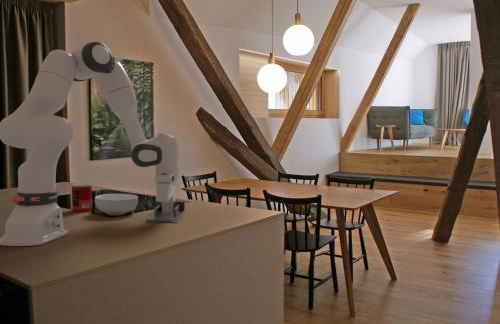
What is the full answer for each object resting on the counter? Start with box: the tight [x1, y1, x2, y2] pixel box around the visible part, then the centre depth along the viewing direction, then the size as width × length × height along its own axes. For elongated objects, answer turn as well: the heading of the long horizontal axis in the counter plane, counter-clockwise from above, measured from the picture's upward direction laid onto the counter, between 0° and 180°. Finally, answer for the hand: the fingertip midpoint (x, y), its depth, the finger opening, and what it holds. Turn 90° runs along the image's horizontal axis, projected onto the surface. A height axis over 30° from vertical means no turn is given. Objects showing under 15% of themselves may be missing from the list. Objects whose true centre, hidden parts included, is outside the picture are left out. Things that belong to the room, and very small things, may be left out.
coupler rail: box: [145, 200, 186, 223], centre depth 185 cm, size 22×12×4 cm, turn 1°
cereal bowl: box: [94, 193, 139, 216], centre depth 189 cm, size 17×17×7 cm
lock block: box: [162, 195, 176, 213], centre depth 189 cm, size 7×4×7 cm, turn 1°
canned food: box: [71, 182, 93, 213], centre depth 195 cm, size 8×8×11 cm
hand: (167, 210), depth 184 cm, fingers closed
